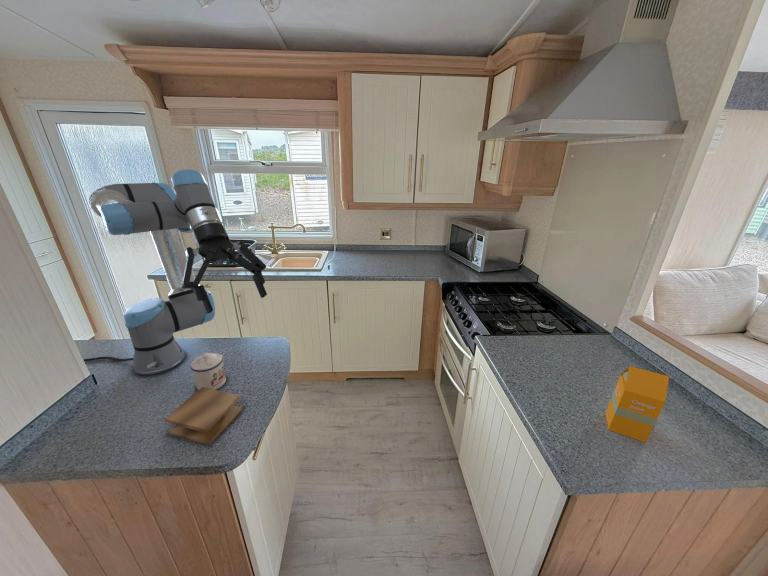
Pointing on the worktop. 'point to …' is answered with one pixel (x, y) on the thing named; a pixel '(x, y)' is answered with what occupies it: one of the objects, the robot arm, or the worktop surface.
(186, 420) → the cup stand
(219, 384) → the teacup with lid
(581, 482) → the worktop surface
